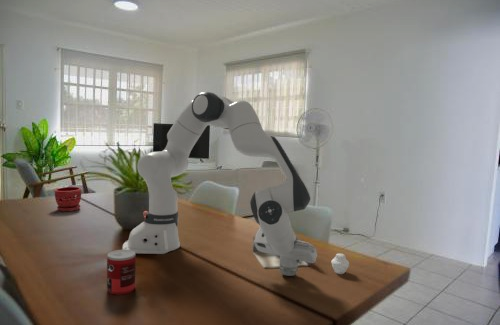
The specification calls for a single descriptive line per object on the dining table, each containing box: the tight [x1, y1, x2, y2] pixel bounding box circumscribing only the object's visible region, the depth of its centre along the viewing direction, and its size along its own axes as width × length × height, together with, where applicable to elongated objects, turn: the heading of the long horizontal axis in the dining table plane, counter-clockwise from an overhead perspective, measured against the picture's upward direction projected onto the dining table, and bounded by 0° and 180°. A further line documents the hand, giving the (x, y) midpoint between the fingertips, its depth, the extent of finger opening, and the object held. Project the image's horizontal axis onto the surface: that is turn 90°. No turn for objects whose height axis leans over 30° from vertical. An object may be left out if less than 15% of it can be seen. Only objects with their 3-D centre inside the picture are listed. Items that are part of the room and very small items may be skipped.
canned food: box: [106, 248, 137, 296], centre depth 103 cm, size 8×8×11 cm
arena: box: [252, 234, 312, 270], centre depth 134 cm, size 18×16×7 cm
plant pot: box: [54, 186, 82, 212], centre depth 194 cm, size 13×13×12 cm
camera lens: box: [279, 256, 299, 277], centre depth 119 cm, size 6×6×8 cm
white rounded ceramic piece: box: [331, 253, 350, 275], centre depth 123 cm, size 6×6×7 cm
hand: (289, 259), depth 119 cm, fingers closed on camera lens, 6 cm apart
